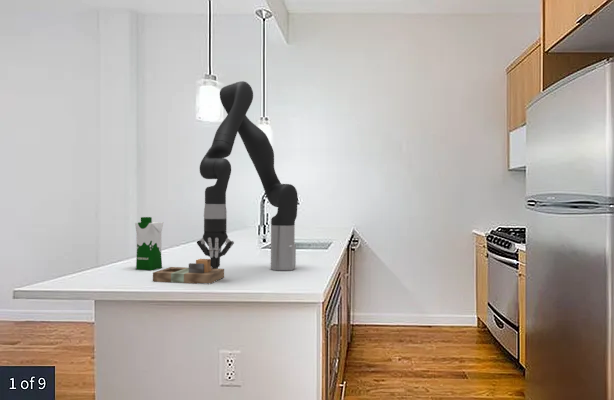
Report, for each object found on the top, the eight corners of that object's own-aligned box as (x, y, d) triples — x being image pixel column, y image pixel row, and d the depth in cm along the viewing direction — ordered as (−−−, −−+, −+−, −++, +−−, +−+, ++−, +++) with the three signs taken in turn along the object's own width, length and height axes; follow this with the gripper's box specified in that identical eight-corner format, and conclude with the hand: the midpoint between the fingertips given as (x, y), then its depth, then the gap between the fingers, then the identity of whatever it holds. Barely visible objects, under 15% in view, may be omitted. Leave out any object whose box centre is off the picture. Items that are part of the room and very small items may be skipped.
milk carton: (132, 269, 213) (132, 217, 212) (146, 266, 221) (146, 216, 221) (152, 271, 210) (152, 217, 209) (165, 267, 218) (166, 216, 218)
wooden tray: (224, 277, 196) (224, 260, 196) (209, 284, 182) (209, 265, 182) (171, 275, 200) (171, 258, 200) (152, 281, 186) (152, 263, 186)
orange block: (211, 270, 192) (211, 259, 191) (207, 272, 188) (207, 260, 188) (200, 270, 192) (200, 258, 192) (195, 271, 188) (195, 260, 188)
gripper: (237, 217, 191) (237, 267, 191) (200, 216, 194) (200, 266, 194) (230, 218, 184) (230, 270, 184) (192, 217, 186) (192, 269, 186)
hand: (215, 268), depth 189 cm, fingers closed
